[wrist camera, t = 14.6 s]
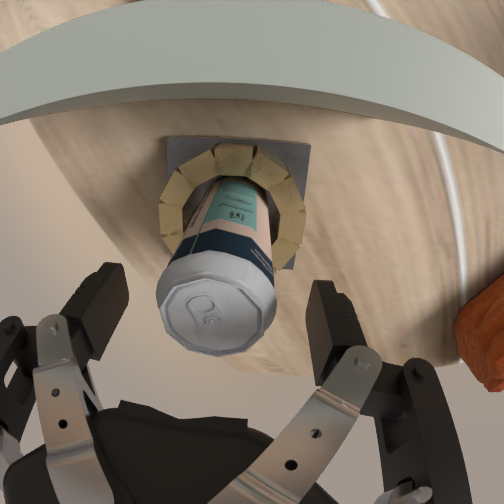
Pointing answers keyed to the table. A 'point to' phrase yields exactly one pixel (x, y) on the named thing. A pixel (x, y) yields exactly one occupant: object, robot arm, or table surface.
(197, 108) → the table surface
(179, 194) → the keeper socket
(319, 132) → the table surface
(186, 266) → the beer can
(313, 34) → the board
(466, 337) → the bread
